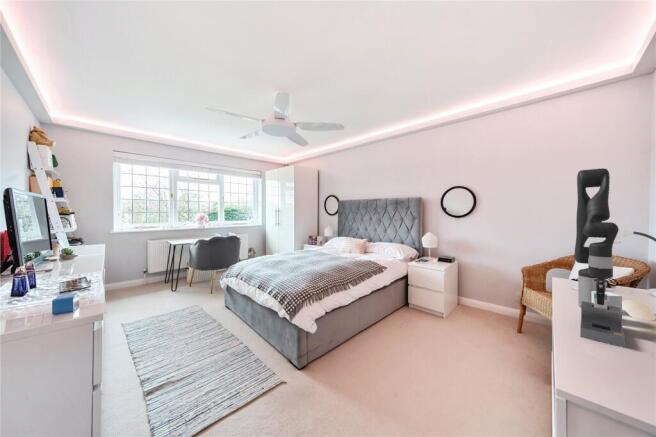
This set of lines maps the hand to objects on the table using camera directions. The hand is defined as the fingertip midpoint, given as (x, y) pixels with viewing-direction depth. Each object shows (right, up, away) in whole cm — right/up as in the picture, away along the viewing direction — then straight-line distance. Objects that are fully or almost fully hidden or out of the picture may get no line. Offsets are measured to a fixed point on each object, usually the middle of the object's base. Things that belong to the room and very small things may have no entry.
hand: (600, 303), depth 112 cm
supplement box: (+12, -11, +8) cm, 17 cm away
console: (-5, -11, -5) cm, 13 cm away
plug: (0, -4, 0) cm, 4 cm away
